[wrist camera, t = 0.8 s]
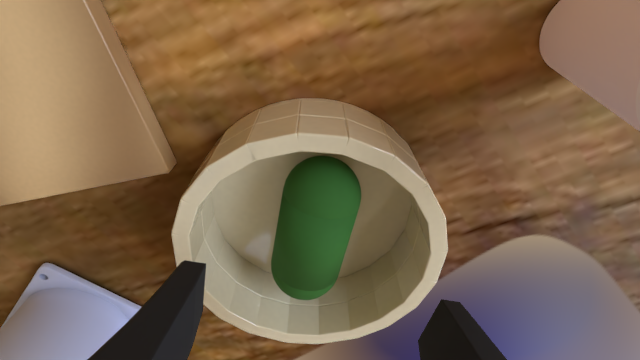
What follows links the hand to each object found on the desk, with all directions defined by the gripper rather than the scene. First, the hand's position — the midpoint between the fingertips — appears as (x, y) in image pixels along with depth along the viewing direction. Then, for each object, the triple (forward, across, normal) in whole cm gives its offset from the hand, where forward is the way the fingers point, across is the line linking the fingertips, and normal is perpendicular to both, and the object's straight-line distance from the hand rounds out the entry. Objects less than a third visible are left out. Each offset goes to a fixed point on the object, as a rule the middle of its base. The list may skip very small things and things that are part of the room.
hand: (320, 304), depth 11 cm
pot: (+10, 0, +3) cm, 10 cm away
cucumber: (+7, 0, +3) cm, 8 cm away
